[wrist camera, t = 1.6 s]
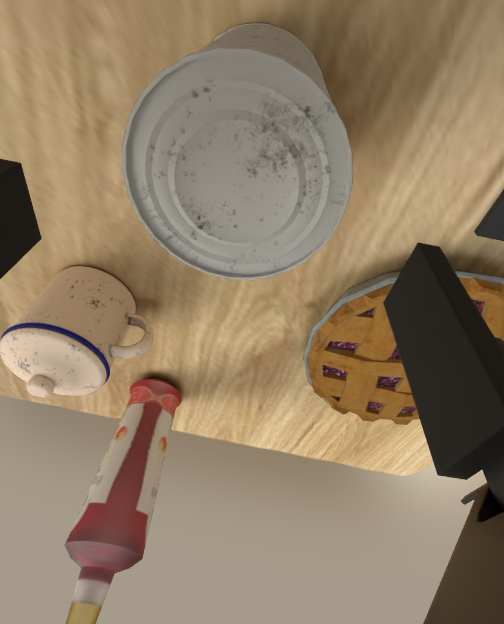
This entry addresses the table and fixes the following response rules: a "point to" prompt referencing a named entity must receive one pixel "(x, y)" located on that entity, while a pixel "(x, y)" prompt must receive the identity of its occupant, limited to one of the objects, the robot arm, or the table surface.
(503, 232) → the back mat
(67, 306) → the teacup with lid
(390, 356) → the pie
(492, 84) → the table surface
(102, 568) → the liquor
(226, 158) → the tin can
